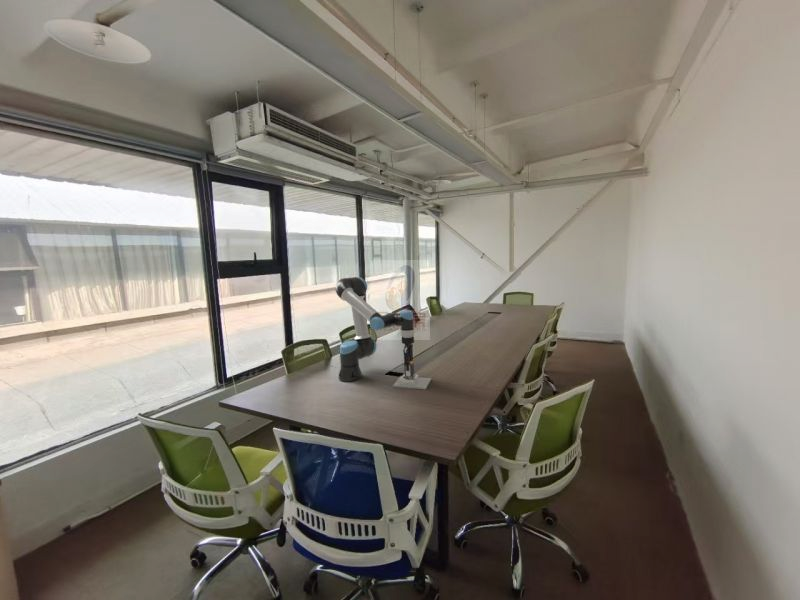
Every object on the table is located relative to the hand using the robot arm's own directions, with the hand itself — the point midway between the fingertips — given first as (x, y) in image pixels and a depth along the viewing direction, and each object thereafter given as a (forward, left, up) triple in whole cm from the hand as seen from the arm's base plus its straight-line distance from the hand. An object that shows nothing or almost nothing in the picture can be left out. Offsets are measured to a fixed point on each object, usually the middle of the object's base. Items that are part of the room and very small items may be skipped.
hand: (409, 374), depth 203 cm
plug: (0, 0, 0) cm, 0 cm away
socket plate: (+2, 0, -6) cm, 6 cm away
